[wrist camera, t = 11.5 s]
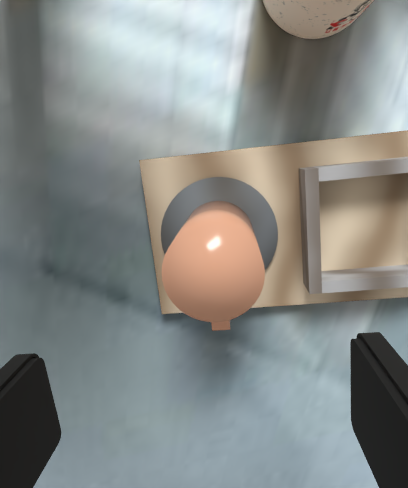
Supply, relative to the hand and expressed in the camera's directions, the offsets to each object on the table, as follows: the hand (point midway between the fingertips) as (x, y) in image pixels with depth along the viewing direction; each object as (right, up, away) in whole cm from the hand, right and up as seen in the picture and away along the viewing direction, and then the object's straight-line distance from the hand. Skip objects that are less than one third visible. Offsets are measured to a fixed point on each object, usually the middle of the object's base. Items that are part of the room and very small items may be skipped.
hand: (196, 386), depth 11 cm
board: (+8, +6, +21) cm, 23 cm away
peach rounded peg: (+1, +5, +20) cm, 20 cm away
